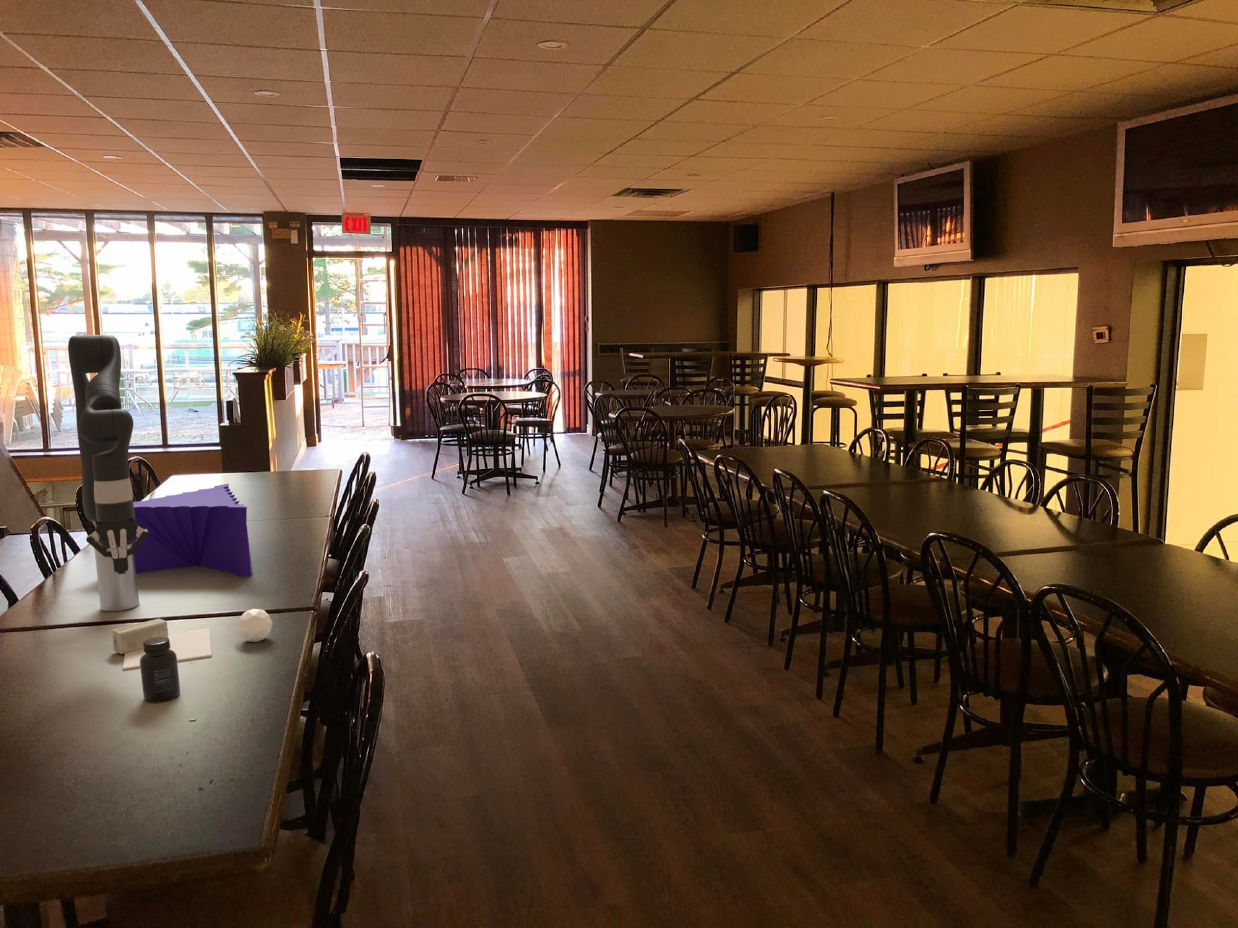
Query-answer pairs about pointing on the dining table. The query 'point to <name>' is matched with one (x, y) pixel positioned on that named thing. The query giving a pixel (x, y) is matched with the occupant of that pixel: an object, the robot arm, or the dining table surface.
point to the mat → (178, 648)
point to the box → (138, 635)
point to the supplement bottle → (159, 671)
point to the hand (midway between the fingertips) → (121, 573)
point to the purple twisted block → (194, 532)
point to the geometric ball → (254, 625)
